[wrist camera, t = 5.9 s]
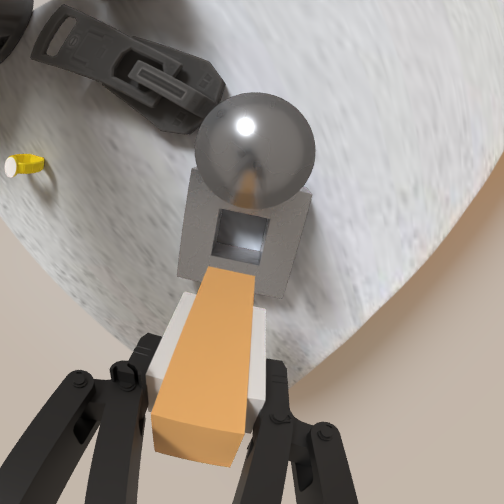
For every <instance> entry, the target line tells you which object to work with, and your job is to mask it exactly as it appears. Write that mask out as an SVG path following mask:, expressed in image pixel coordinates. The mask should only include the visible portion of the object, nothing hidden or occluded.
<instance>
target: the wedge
mask: <svg viewBox="0 0 504 504" xmlns="http://www.w3.org/2000/svg"><path fill="white" fill-rule="evenodd" d="M254 286H255V276H252V275H247V274H243V273H238V272H233V271H229V270H224V269H219V268H215V267H210V266H208V268H207V271H206V273H205V275H204V278H203V280H202V283H201V285H200V287H199V290H198V292H197V295H196V297H195V300H194V302H193V305H192V307H191V310H190V312H189V315H188V317H187V320H186V322H185V325H184V327H183V330H182V332H181V335H180V337H179V340H178V342H177V345H176V348H175V350H174V353H173V355H172V358H171V361H170V363H169V366H168V368H167V371H166V374H165V376H164V379H163V382H162V384H161V387H160V390H159V393H158V395H157V398H156V401H155V404H154V406H153V409H152V412H151V421H152V431H153V441H154V448H155V452H159V453H162V454H166V455H170V456H174V457H178V458H182V459H187V460H191V461H196V462H201V463H206V464H212V465H217V466H224V467H230V466H231V464H232V462H233V460H234V457H235V455H236V453H237V451H238V448H239V446H240V444H241V441H242V439H243V436H244V434H245V421H246V406H247V392H248V377H249V362H250V347H251V332H252V317H253V301H254Z"/></svg>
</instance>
